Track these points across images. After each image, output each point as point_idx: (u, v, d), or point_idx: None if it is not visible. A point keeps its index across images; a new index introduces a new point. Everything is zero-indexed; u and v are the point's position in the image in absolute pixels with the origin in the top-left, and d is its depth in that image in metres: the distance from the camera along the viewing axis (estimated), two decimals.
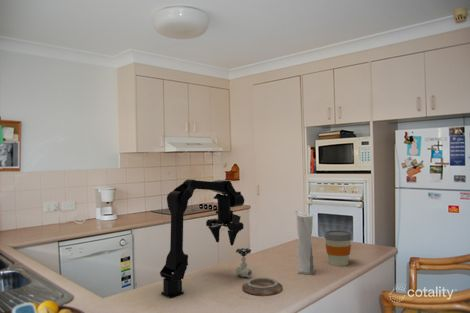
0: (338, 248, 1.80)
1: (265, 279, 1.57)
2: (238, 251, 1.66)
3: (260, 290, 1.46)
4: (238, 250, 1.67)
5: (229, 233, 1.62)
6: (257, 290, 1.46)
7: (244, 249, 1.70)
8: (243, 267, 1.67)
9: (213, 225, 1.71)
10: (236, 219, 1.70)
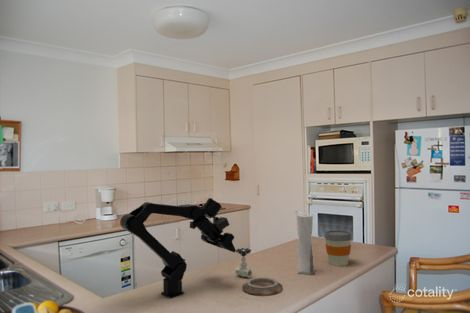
0: (338, 248, 1.80)
1: (265, 279, 1.57)
2: (238, 251, 1.65)
3: (260, 290, 1.46)
4: (238, 250, 1.67)
5: None
6: (257, 290, 1.46)
7: (244, 249, 1.69)
8: (243, 267, 1.67)
9: None
10: (224, 225, 1.60)
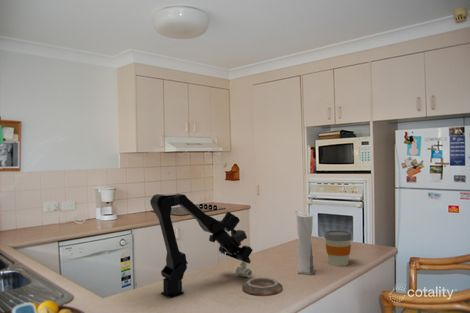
0: (338, 248, 1.80)
1: (265, 279, 1.57)
2: None
3: (260, 290, 1.46)
4: None
5: None
6: (257, 290, 1.46)
7: None
8: (243, 267, 1.67)
9: None
10: (242, 238, 1.65)
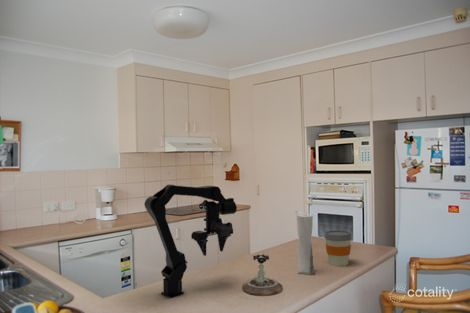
0: (338, 248, 1.80)
1: None
2: (253, 257, 1.51)
3: (260, 290, 1.46)
4: (255, 256, 1.53)
5: None
6: (257, 290, 1.46)
7: (263, 256, 1.53)
8: (259, 275, 1.51)
9: None
10: (216, 231, 1.53)
